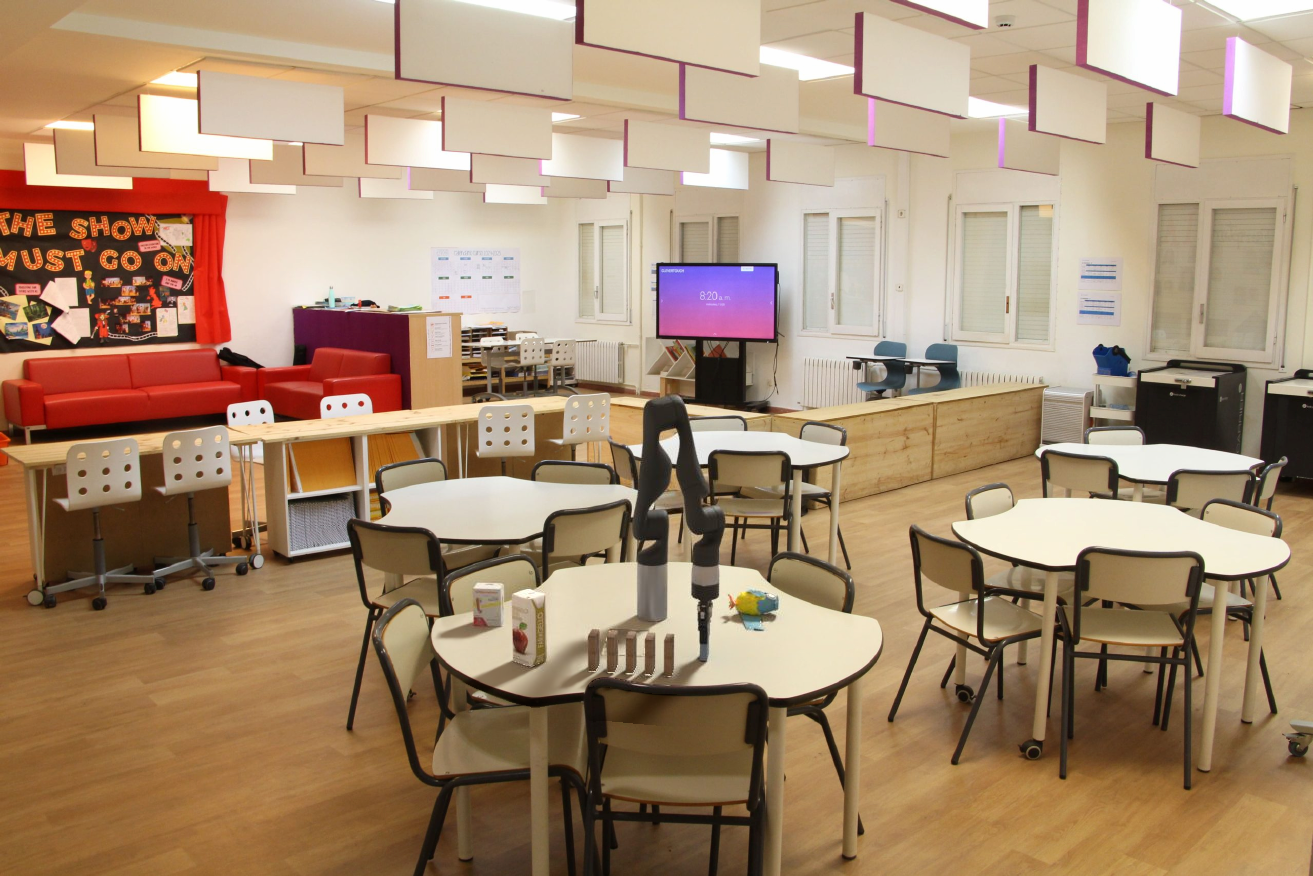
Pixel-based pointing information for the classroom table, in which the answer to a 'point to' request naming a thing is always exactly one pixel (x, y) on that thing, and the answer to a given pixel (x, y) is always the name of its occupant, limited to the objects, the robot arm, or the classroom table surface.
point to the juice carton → (529, 627)
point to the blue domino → (704, 648)
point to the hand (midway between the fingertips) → (704, 639)
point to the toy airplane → (754, 606)
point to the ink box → (488, 604)
